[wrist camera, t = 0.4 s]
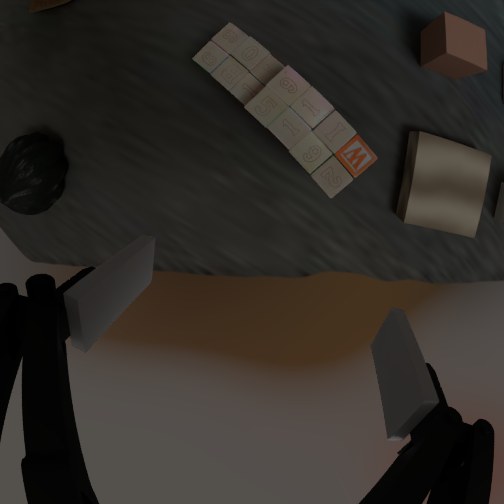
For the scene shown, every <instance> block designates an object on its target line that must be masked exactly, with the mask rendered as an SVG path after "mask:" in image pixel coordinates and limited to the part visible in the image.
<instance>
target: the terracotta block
mask: <svg viewBox="0 0 504 504" xmlns="http://www.w3.org/2000/svg"><path fill="white" fill-rule="evenodd" d="M421 67H422V68H425V69H428V70H431V71H434V72H437V73H440V74H442V75H445V76H448V77H450V78H453V79H456V80H457V79H460V78H463V77H467V76H470V75H473V74H477V73H480V72H484V71H487V52H486V38H485V30H484V29H482V28H480V27H478V26H476V25H474V24H472V23H470V22H468V21H465V20H463V19H461V18H459V17H456V16H454V15H452V14H449V13H447V12H443V13H442V14H441V15H440V16H438V17H437V18H436V19H435V20H434V21H432V22H431V23H430V24H429V25H428V26H427V27H425V28H424V29H423V30H422V31H421Z"/></svg>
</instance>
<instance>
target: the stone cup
mask: <svg viewBox="0 0 504 504" xmlns="http://www.w3.org/2000/svg"><path fill="white" fill-rule="evenodd" d="M69 1H71V0H31V3H30V7H29V11H30V13H34V12H38V11H42V10H45V9H49V8H52V7H56V6H59V5H62V4H65V3H67V2H69Z"/></svg>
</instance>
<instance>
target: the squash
mask: <svg viewBox="0 0 504 504" xmlns="http://www.w3.org/2000/svg"><path fill="white" fill-rule="evenodd" d="M62 154H63V149H62V146H61V145H60V144H59V143H57V142H55V141H50V139H49V137H48V136H47V135H45V134H41V133H39V132H36V133H33V134H30V135H24V136H20V137H18V138H16V139H15V140H13V141H12V142H11V143H10V144H9V145H8V146H7V148H6V150H5V151H4V153H3V154H2V156H1V158H0V202H1V203H2V204H4V205H6V206H7V207H8V208H10V209H11V210H13V211H15V212H17V213H20V214H26V215H36V214H39V213H42V212H44V211H46V210H48V209H49V208H50V207H51V206H52V205H53V203H54V202H56V201H57V200H58V199H59V198H60V197H61V195H62V193H63V188H64V183H63V178H64V176H65V174H66V172H67V164H66V163H65V162H64V161H63V160H60V159H61V157H62Z"/></svg>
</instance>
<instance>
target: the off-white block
mask: <svg viewBox="0 0 504 504" xmlns="http://www.w3.org/2000/svg"><path fill="white" fill-rule="evenodd" d="M494 219H496V220H498V221H500V222H501V223H503V224H504V183H503V182H501V187H500V192H499V197H498V202H497V206H496V211H495V215H494Z"/></svg>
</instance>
